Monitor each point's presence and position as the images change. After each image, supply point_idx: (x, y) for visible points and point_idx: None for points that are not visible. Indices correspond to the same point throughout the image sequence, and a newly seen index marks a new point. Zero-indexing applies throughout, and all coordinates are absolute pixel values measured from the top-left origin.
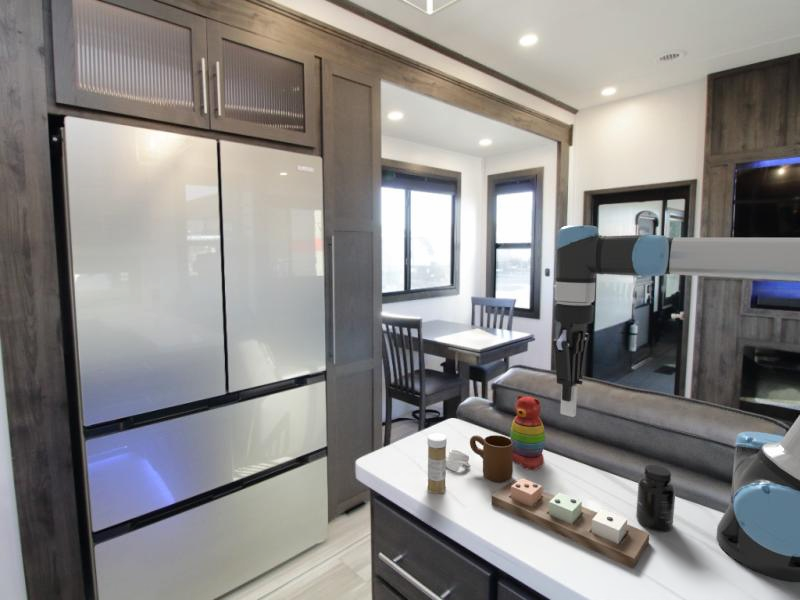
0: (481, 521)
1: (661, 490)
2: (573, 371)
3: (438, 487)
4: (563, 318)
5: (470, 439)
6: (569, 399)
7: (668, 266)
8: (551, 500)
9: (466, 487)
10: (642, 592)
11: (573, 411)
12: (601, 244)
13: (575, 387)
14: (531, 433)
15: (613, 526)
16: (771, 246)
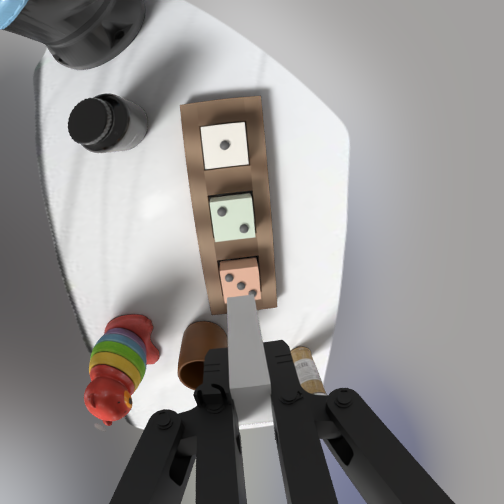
0: (318, 282)
1: (119, 103)
2: (307, 458)
3: (308, 353)
4: None
5: None
6: (279, 346)
7: None
8: (248, 236)
9: (266, 340)
10: (294, 78)
11: (253, 306)
12: None
13: (256, 379)
14: (125, 361)
15: (240, 132)
16: None
